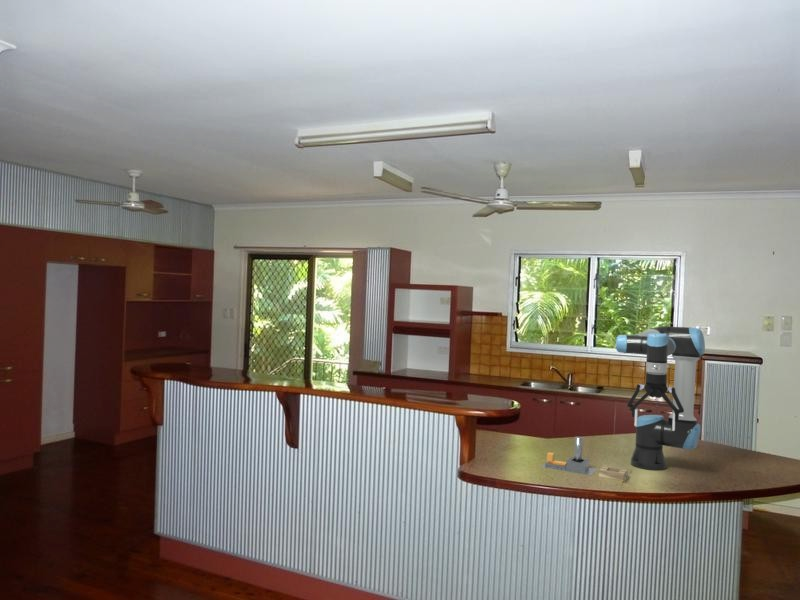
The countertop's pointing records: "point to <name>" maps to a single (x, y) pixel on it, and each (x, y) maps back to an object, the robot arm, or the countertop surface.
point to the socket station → (572, 466)
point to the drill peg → (578, 449)
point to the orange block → (551, 460)
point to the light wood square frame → (613, 473)
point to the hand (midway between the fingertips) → (654, 427)
